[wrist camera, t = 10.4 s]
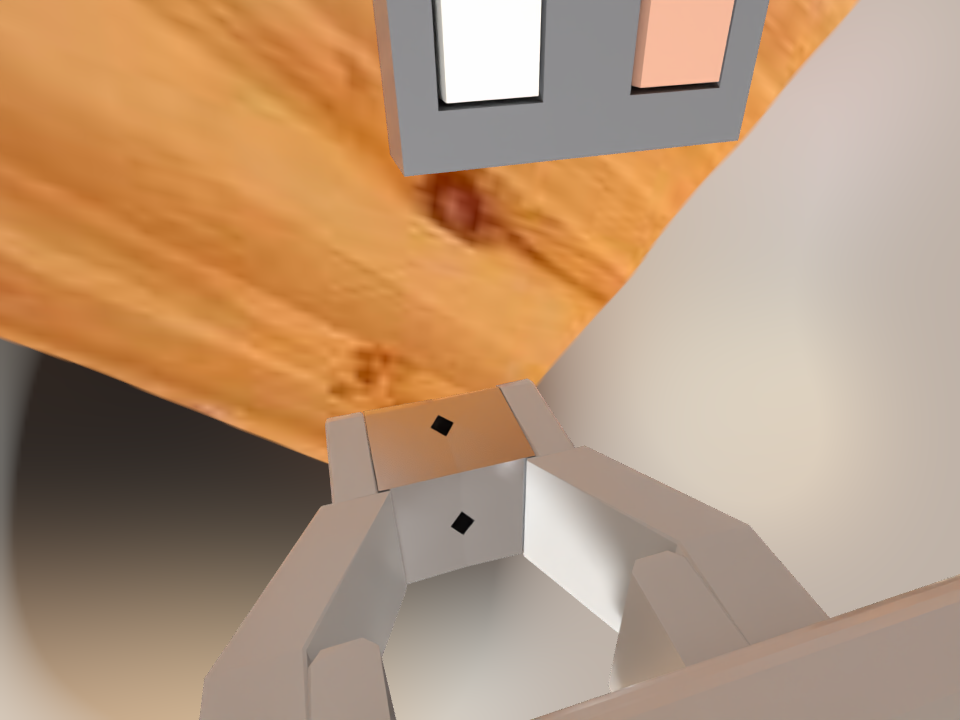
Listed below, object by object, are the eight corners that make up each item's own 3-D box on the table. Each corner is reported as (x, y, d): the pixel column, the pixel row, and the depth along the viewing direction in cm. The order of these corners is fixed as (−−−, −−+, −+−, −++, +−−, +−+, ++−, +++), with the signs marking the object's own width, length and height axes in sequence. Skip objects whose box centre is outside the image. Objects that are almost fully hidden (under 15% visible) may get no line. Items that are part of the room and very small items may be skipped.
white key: (426, -15, 28) (440, -15, 26) (520, -18, 29) (541, -19, 27) (434, 94, 31) (446, 103, 28) (519, 87, 32) (538, 95, 29)
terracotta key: (624, -22, 30) (654, -22, 28) (704, -24, 31) (739, -25, 29) (614, 80, 33) (640, 87, 31) (688, 75, 34) (718, 81, 32)
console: (361, -99, 27) (374, -114, 23) (730, -99, 32) (794, -111, 28) (390, 154, 34) (404, 176, 30) (691, 124, 39) (738, 140, 35)
